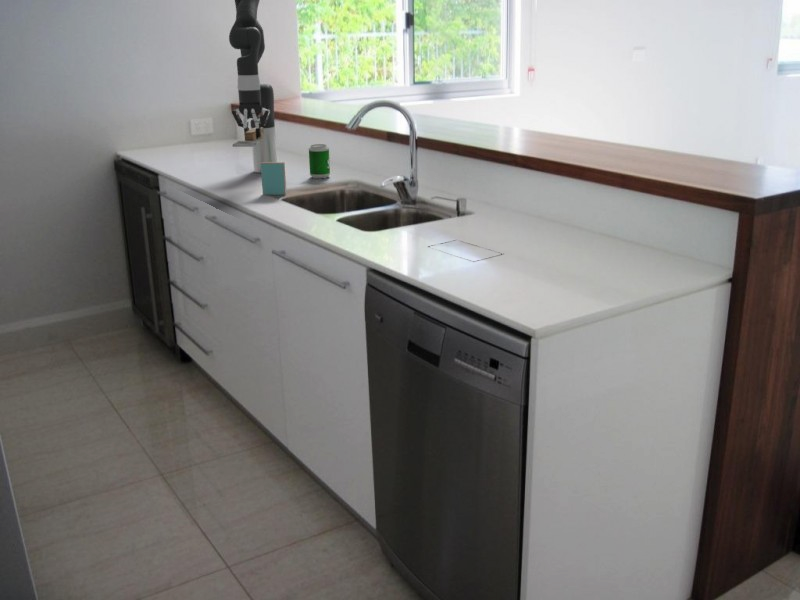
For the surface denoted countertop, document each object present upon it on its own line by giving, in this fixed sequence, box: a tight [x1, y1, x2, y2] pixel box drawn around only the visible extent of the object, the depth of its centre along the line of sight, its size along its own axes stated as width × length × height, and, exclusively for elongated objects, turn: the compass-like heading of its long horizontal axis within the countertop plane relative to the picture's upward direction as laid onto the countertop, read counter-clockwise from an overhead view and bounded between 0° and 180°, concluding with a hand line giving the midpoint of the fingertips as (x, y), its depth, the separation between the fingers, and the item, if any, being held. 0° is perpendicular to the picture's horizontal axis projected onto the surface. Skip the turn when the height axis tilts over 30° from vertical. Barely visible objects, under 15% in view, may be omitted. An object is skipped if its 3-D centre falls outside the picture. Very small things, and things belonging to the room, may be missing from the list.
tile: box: [260, 161, 287, 196], centre depth 269 cm, size 2×8×11 cm, turn 85°
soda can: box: [308, 143, 331, 179], centre depth 297 cm, size 8×8×12 cm
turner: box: [232, 127, 264, 148], centre depth 277 cm, size 22×7×4 cm, turn 174°
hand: (253, 138), depth 279 cm, fingers closed on turner, 3 cm apart
